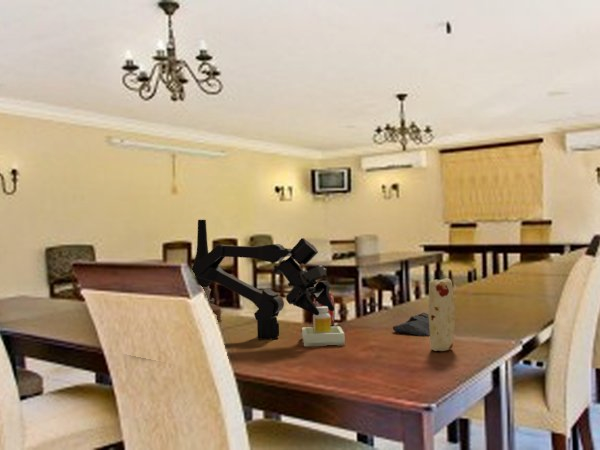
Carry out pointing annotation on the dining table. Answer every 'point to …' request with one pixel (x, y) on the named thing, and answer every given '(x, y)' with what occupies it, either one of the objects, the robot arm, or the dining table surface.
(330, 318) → the soda can
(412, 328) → the dark slate chunk
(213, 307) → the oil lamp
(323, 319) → the supplement bottle
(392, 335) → the dining table surface
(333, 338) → the bin
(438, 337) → the food model
